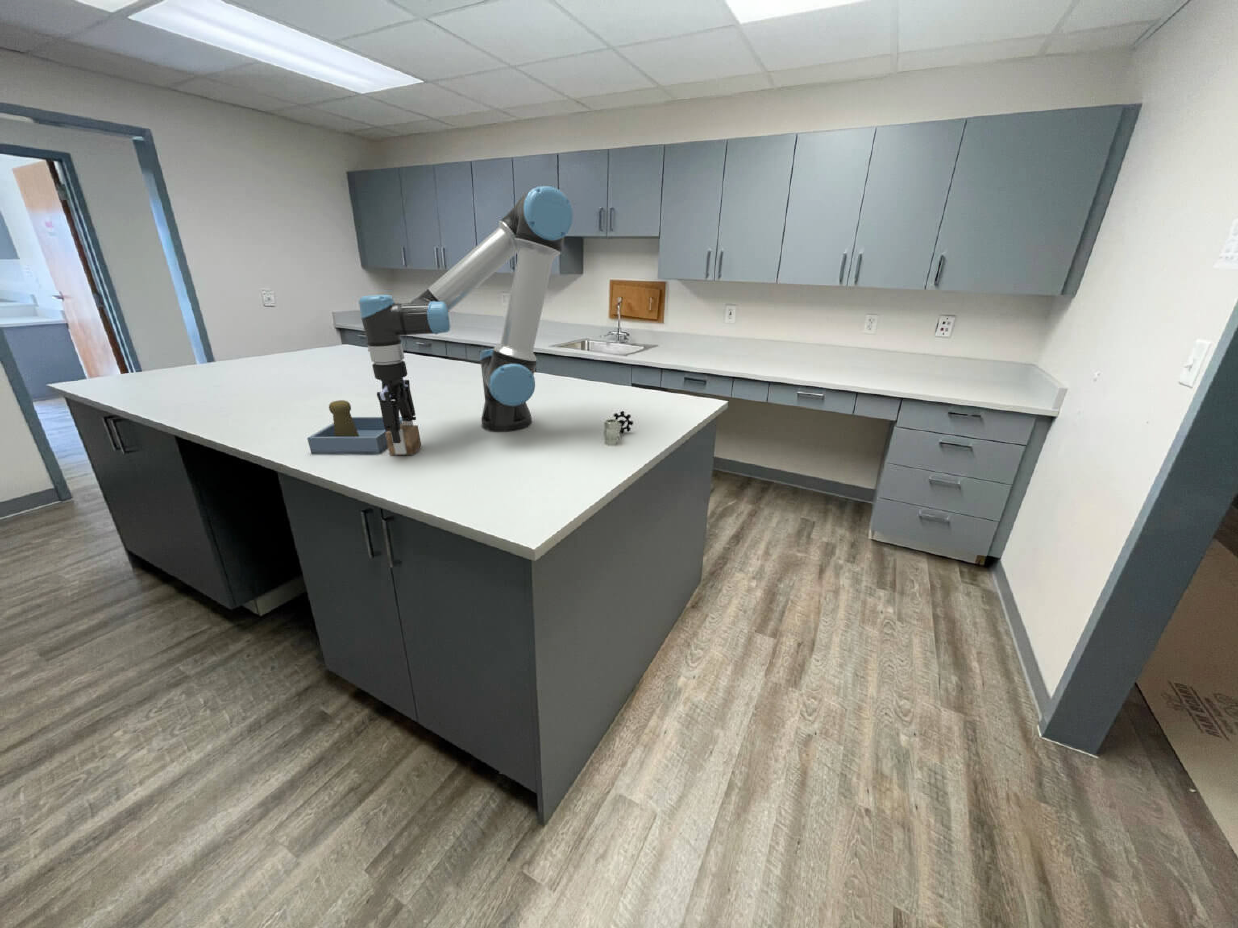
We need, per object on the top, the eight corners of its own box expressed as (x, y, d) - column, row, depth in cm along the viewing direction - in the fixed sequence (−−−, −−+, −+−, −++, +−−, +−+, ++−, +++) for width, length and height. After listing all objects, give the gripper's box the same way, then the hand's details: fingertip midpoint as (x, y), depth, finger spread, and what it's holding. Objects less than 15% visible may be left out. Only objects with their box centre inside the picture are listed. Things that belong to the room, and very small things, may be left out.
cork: (349, 444, 132) (340, 404, 128) (330, 442, 133) (320, 403, 129) (364, 436, 138) (356, 398, 133) (345, 435, 139) (336, 397, 134)
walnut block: (421, 446, 132) (417, 425, 129) (412, 454, 126) (408, 432, 124) (399, 446, 132) (395, 425, 129) (389, 454, 126) (385, 433, 124)
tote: (407, 431, 144) (405, 417, 142) (379, 454, 127) (376, 438, 126) (347, 431, 144) (343, 417, 142) (311, 454, 127) (307, 438, 126)
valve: (620, 447, 132) (633, 433, 142) (620, 424, 129) (633, 411, 140) (597, 444, 134) (612, 431, 144) (597, 422, 131) (612, 409, 141)
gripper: (390, 354, 128) (407, 436, 138) (353, 370, 111) (375, 463, 120) (418, 354, 128) (433, 436, 138) (386, 369, 111) (406, 462, 120)
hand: (406, 448), depth 129 cm, fingers closed on walnut block, 6 cm apart
